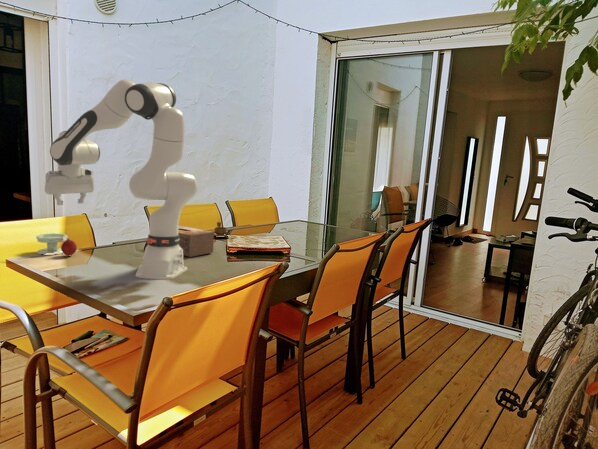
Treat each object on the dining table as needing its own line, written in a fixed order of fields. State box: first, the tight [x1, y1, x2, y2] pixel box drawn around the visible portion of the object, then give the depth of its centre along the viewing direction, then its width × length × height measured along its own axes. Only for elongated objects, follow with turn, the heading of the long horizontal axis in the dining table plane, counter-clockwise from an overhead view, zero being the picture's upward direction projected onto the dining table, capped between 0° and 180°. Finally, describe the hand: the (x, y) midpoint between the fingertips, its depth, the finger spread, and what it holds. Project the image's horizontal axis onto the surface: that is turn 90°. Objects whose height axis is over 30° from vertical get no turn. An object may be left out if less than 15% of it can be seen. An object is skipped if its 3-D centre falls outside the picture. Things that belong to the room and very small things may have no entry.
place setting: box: [213, 221, 232, 236], centre depth 257 cm, size 18×20×6 cm
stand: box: [35, 232, 69, 255], centre depth 187 cm, size 11×11×8 cm
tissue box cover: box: [178, 225, 215, 258], centre depth 208 cm, size 26×14×10 cm, turn 56°
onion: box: [60, 237, 78, 256], centre depth 182 cm, size 6×6×8 cm
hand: (70, 204), depth 180 cm, fingers open, 8 cm apart
